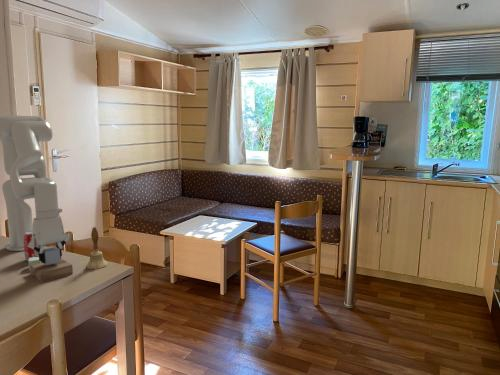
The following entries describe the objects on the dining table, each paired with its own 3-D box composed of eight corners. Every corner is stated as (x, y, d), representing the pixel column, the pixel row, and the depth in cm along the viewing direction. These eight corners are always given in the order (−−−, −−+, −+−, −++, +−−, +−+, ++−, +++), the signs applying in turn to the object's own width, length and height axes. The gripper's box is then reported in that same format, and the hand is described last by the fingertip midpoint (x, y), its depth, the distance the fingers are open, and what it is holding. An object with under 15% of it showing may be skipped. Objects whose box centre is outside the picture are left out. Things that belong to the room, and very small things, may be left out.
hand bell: (91, 271, 149) (89, 231, 147) (82, 265, 155) (80, 227, 152) (111, 265, 155) (109, 227, 153) (101, 260, 161) (100, 223, 158)
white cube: (30, 267, 152) (29, 257, 151) (41, 265, 154) (40, 256, 153) (29, 270, 148) (28, 261, 148) (40, 269, 150) (40, 259, 149)
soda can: (48, 257, 163) (46, 230, 161) (37, 263, 156) (35, 235, 154) (32, 256, 164) (30, 229, 161) (21, 262, 157) (18, 234, 154)
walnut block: (30, 275, 145) (30, 265, 145) (60, 267, 153) (59, 257, 153) (42, 283, 138) (41, 273, 137) (72, 274, 146) (72, 264, 146)
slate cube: (41, 261, 145) (40, 249, 144) (55, 258, 148) (54, 246, 148) (46, 265, 142) (45, 252, 141) (60, 261, 145) (59, 249, 144)
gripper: (66, 208, 151) (69, 252, 154) (18, 216, 138) (22, 263, 141) (74, 211, 146) (77, 257, 149) (25, 219, 133) (30, 269, 136)
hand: (50, 259), depth 145 cm, fingers closed on slate cube, 5 cm apart
